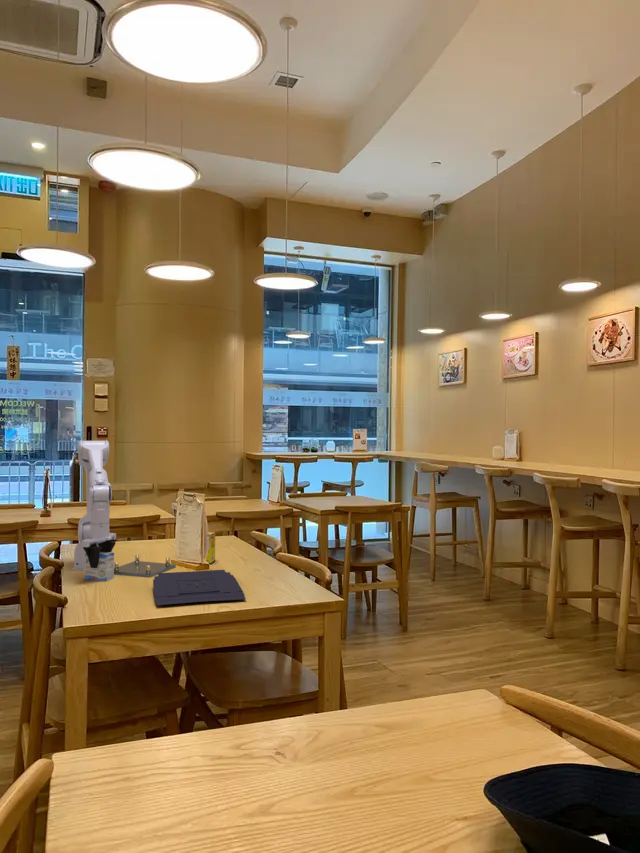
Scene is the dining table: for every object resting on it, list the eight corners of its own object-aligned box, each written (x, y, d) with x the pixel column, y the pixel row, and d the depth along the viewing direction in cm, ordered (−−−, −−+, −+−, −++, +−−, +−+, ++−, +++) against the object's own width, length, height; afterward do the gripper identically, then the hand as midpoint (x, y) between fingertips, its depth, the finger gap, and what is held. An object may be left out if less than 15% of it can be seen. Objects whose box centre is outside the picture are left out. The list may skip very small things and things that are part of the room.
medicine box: (83, 580, 194) (84, 553, 194) (91, 577, 199) (91, 550, 199) (106, 582, 193) (107, 554, 193) (114, 579, 197) (114, 551, 197)
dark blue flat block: (229, 577, 199) (230, 566, 199) (246, 608, 170) (247, 595, 170) (151, 582, 192) (151, 570, 191) (155, 615, 163) (155, 601, 163)
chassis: (107, 574, 203) (107, 563, 203) (135, 564, 218) (135, 554, 218) (150, 578, 198) (150, 567, 198) (175, 567, 214) (175, 557, 214)
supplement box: (215, 561, 224) (215, 531, 224) (210, 565, 218) (211, 534, 218) (199, 561, 225) (199, 531, 225) (194, 564, 219) (194, 533, 219)
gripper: (96, 527, 188) (95, 572, 188) (124, 520, 201) (123, 562, 201) (76, 525, 190) (75, 570, 190) (105, 519, 203) (105, 560, 203)
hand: (99, 565), depth 196 cm, fingers closed on medicine box, 5 cm apart
